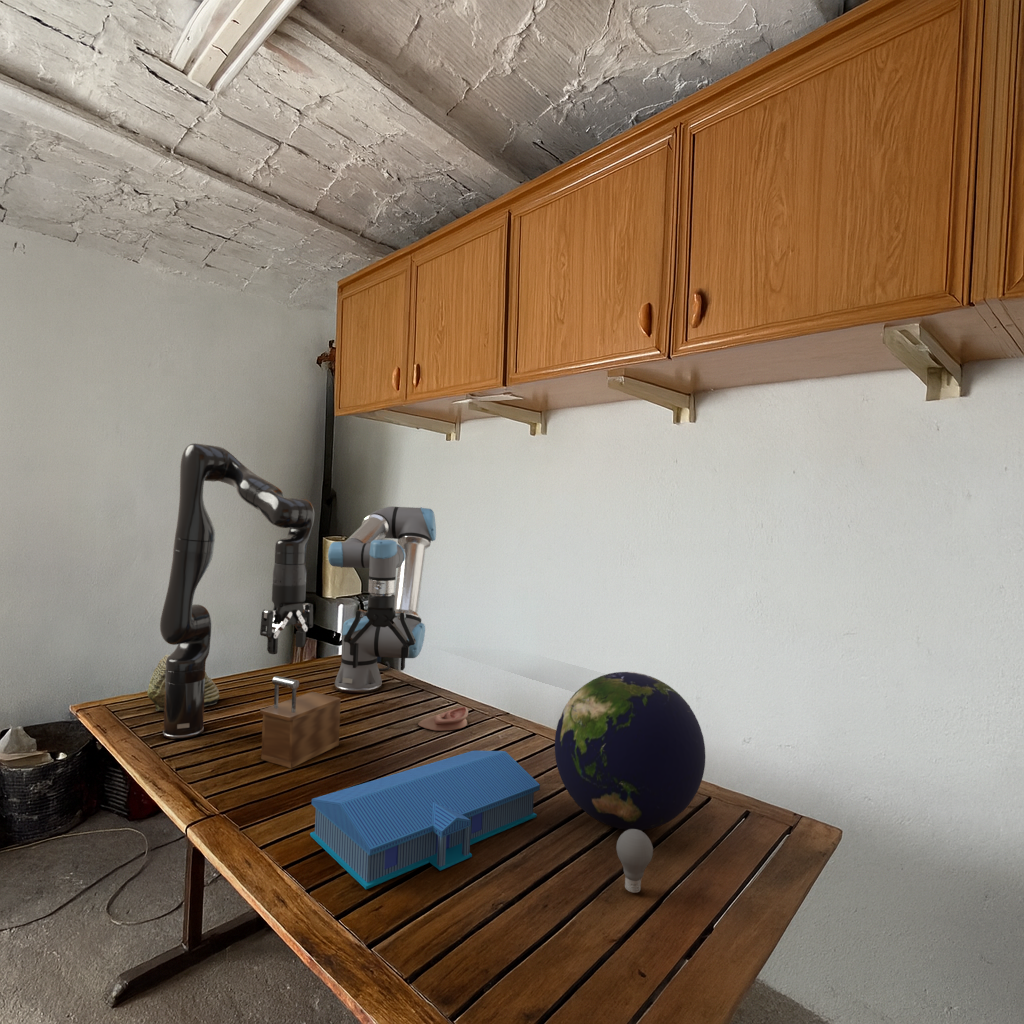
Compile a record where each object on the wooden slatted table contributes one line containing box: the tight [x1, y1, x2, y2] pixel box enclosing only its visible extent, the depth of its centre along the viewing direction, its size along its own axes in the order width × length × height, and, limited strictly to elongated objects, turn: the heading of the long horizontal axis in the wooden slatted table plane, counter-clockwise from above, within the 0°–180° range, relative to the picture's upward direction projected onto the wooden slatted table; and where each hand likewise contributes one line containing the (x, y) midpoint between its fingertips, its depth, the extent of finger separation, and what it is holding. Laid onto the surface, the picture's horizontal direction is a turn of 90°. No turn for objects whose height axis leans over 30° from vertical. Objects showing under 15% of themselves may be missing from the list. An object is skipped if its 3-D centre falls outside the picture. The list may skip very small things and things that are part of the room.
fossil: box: [147, 654, 221, 712], centre depth 185 cm, size 9×18×15 cm, turn 132°
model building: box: [309, 750, 541, 890], centre depth 123 cm, size 39×24×10 cm, turn 132°
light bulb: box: [615, 829, 654, 894], centre depth 106 cm, size 6×6×10 cm
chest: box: [260, 701, 342, 769], centre depth 156 cm, size 16×10×11 cm, turn 154°
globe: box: [554, 671, 706, 831], centre depth 128 cm, size 30×30×30 cm
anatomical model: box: [417, 706, 469, 732], centre depth 179 cm, size 13×4×12 cm
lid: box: [259, 675, 342, 721], centre depth 156 cm, size 17×10×8 cm, turn 154°
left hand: (286, 650), depth 150 cm, fingers open, 8 cm apart
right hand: (378, 668), depth 181 cm, fingers open, 13 cm apart
